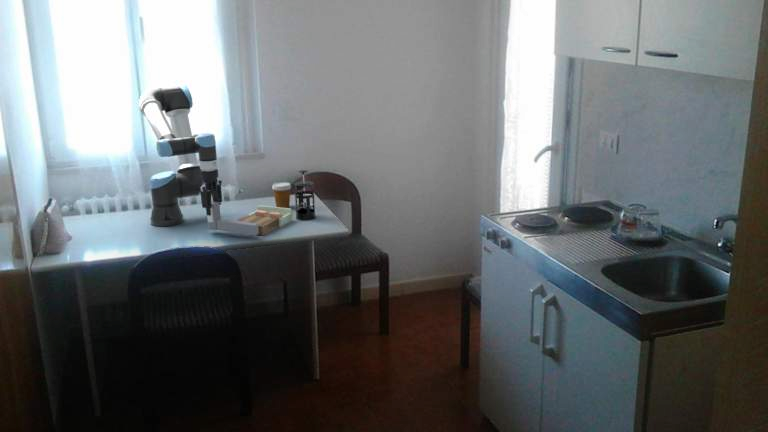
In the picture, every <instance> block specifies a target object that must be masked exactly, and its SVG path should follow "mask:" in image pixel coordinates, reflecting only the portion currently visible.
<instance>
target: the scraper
mask: <svg viewBox="0 0 768 432" xmlns="http://www.w3.org/2000/svg"><path fill="white" fill-rule="evenodd" d="M220 203H221V202H220ZM220 203H219V202H214V201H213V200H211V208H212V209H213V219H214V222H208V221H207V226H208V230H211V231H221V232H229V233H235V234H241V235H249V236H256V235H257V234H259V230H258V224H257V223H249V222H242V221H235V220H232V219H225V218H221V207H220V206H221V205H220ZM208 206H209V205H208Z"/></svg>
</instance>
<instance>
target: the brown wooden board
mask: <svg viewBox="0 0 768 432" xmlns="http://www.w3.org/2000/svg"><path fill="white" fill-rule="evenodd" d="M234 221H242V222H249V223H257V224H258V230H259V234H257V235H258V236H265V235H267V234H268V233H270V232H272V231H274V230H276V229H277V228H280V227H279V224H278V218H270V217H261V216H252V215H249V214H246V215H244V216H242V217H240V218H237V219H236V220H234ZM266 233H267V234H266Z"/></svg>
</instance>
